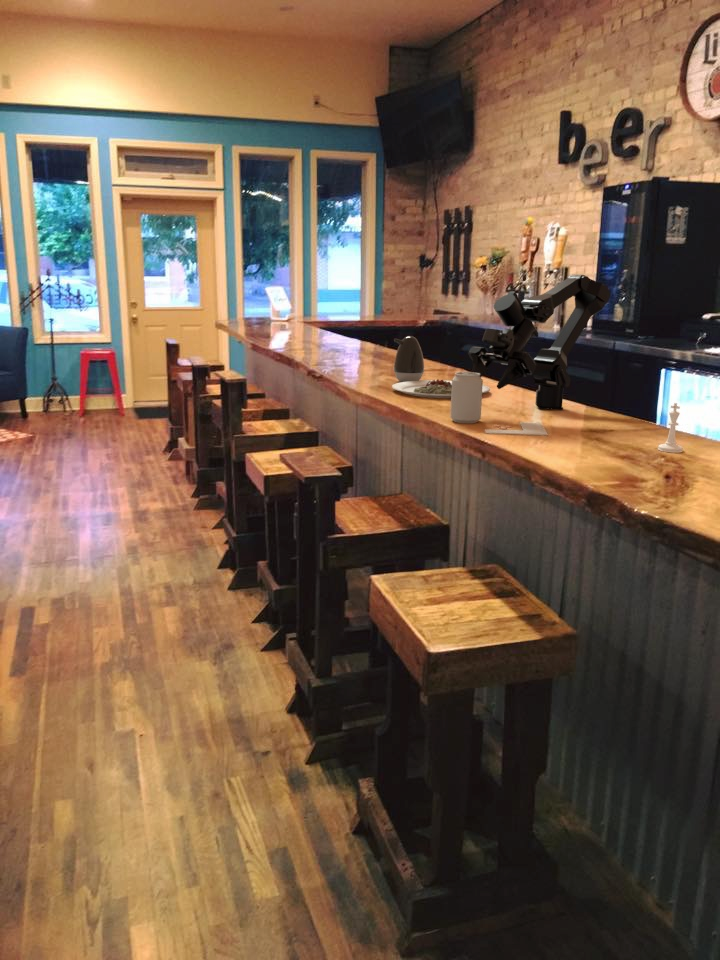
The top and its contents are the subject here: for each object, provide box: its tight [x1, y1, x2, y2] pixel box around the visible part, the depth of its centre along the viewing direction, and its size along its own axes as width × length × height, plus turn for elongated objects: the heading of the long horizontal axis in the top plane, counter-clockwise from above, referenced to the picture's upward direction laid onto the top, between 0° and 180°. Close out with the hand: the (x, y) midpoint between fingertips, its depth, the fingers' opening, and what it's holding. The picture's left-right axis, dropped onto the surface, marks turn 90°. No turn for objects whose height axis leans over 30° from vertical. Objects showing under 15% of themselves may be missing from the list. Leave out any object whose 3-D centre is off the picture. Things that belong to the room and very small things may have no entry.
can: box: [450, 371, 484, 424], centre depth 191 cm, size 8×8×12 cm
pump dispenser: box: [393, 335, 425, 382], centre depth 258 cm, size 10×10×15 cm
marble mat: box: [484, 421, 549, 436], centre depth 184 cm, size 14×14×1 cm
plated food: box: [391, 378, 491, 399], centre depth 238 cm, size 30×30×3 cm
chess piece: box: [657, 402, 684, 454], centre depth 162 cm, size 5×5×10 cm
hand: (483, 385), depth 194 cm, fingers open, 9 cm apart
